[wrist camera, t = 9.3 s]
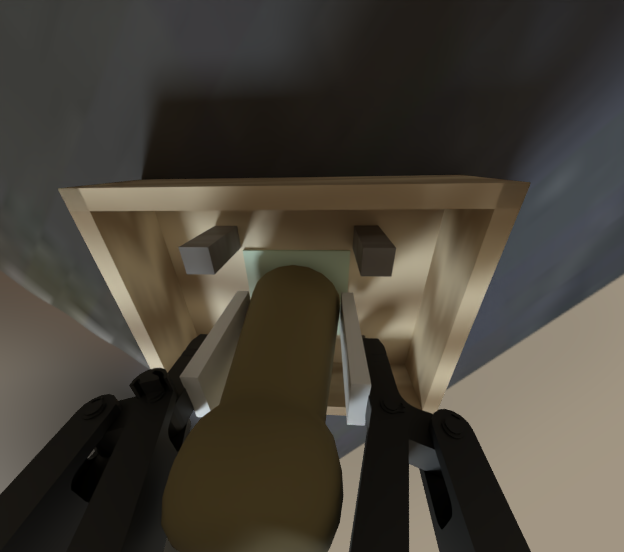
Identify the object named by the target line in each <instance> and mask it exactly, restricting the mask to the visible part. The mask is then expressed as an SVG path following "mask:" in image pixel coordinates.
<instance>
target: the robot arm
mask: <svg viewBox="0 0 624 552" xmlns="http://www.w3.org/2000/svg"><path fill="white" fill-rule="evenodd" d="M249 303H250V295H249V291H237V292H236V294H235V295H234V297H233V298H232V300H231V301H230V303H229V304H228V306H227V307H226V309H225V310H224V312H223V313H222V315H221V316H220V318H219V319H218V320H217V322H216V323H215V325H214V326H213V328H212V329H211V331H210V332H209V334H200V335H198V336H197V337H196V338H194V339H193V340H192V341H191V342H190V343H189V345H188V346H187V347H186V350H184V351H183V353H182V354H181V356H180V357H179V358H178V360H177V361H176V362H175V364H174V365H173V366H172V368H171V369H170V370H169V372H168V373H167V371H166V369H163V368H153V369H150V370H147V371H145V372H143V373H142V374H140V375H139V376H137V377H136V378H135V379H134V380H133V381H132V383H131V384H130V387H131V389H132V391H133V392H134V394H135V395H136V397H132V398H128V399H124V400H120V401H118V400H117V399H116V398H115V396H114V395H110V394H107V395H101V396H99V397H97V398H94V399H92V400H91V401H89V402H88V403H86V404H85V405H83V406H82V407H81V408H80V409H79V410H78V411H77V412H76V413H75V414H74V415H73V416H72V417H71V418H70V420H69V421H68V422H67V423H66V424H65V425H64V426H63V427H62V428H61V429H60V431H58V433H57V434H56V435H55V436H54V437H53V438H52V439H51V440H50V441H49V442H48V443H47V444H46V446H45V447H44V448H43V449H42V450H41V451H40V452H39V453H38V454H37V455H36V456H35V458H34V459H33V460H32V461H31V462H30V463H29V464H28V465H27V466H26V467H25V469H24V470H23V471H22V472H21V473H20V474H19V475H18V476H17V477H16V478H15V479H14V480H13V481H12V483H11V484H10V485H9V486H8V487H7V488H6V489H5V490H4V491H3V492H2V493H1V494H0V552H163V551H164V547H165V543H166V538H167V536H166V534H165V532H164V530H163V528H162V526H161V515H162V496H163V493H164V490H165V486H166V483H167V480H168V476H169V473H170V470H171V467H172V465H173V462H174V460H175V458H176V456H177V454H178V452H179V450H180V448H181V446H182V444H183V442H184V441H185V439H186V437H187V435H188V434H189V432H190V427H191V421H190V419H189V418H190V416H191V414H192V412H193V410H194V411H195V413H196V415H197V417H203V416H204V415H206V414H207V413H208V412H210V411H211V410H212V409H214V408H215V407H217V406H218V405H219V403H220V400H221V397H222V393H223V390H224V387H225V383H226V380H227V377H228V373H229V370H230V367H231V363H232V360H233V357H234V353H235V350H236V347H237V343H238V340H239V336H240V333H241V330H242V326H243V323H244V320H245V316H246V313H247V310H248V306H249ZM339 326H340V339H341V352H342V364H343V377H344V390H345V403H346V416H347V425H365V420H366V426H367V435H366V441H365V448H364V455H363V462H362V468H361V475H360V482H359V488H358V495H357V501H356V509H355V515H354V522H353V529H352V535H351V541H350V548H349V552H409V464H411V465H413V466H415V467H418V468H419V470H420V474H421V478H422V482H423V486H424V490H425V494H426V498H427V503H428V507H429V511H430V515H431V519H432V523H433V527H434V531H435V535H436V540H437V544H438V548H439V551H440V552H531V551H530V549H529V547H528V545H527V543H526V540H525V538H524V536H523V534H522V532H521V530H520V528H519V526H518V524H517V521H516V519H515V517H514V515H513V513H512V511H511V509H510V507H509V505H508V503H507V500H506V498H505V496H504V494H503V492H502V490H501V488H500V486H499V484H498V482H497V479H496V477H495V475H494V473H493V471H492V469H491V467H490V465H489V463H488V461H487V458H486V456H485V454H484V452H483V450H482V448H481V446H480V444H479V442H478V440H477V437H476V435H475V433H474V432H473V429H472V428H471V426H470V425H469V423H468V422H467V421H466V420H465V419H464V418H463V417H461V416H460V415H459V414H457V413H455V412H453V411H450V410H447V409H440V410H437V411H436V412H434V414H432V413H429V412H426V411H423V410H420V409H418V408H415V407H413V406H412V405H410V404H409V403H407V402H406V401H405V400H404V399H403V398H402V396H401V395H400V393H399V391H398V389H397V385H396V382H395V379H394V376H393V373H392V369H391V366H390V363H389V360H388V356H387V353H386V350H385V347H384V345H383V344H382V343H381V341H380V340H379V339H378V338H362V335H361V330H360V325H359V320H358V315H357V310H356V305H355V300H354V295H353V293H348V292H341V306H340V325H339ZM93 449H94V450H95V452H94V453H93V455H91V456H90V457H89V458H87V457H88V456H89V455H90V453H91V452H92V451H93Z"/></svg>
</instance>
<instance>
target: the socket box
mask: <svg viewBox="0 0 624 552" xmlns="http://www.w3.org/2000/svg"><path fill="white" fill-rule="evenodd" d="M529 186H530V182H521V181H512V180H503V179H494V178H485V177H476V176H467V175H421V176H354V177H287V178H219V179H152V180H133V181H124V182H114V183H105V184H95V185H86V186H77V187H67V188H58V190H59V192H60V194H61V196H62V198H63V200H64V202H65V204H66V206H67V207H68V209H69V211H70V213H71V215H72V217H73V219H74V221H75V223H76V225H77V227H78V229H79V231H80V233H81V235H82V237H83V238H84V240H85V242H86V244H87V246H88V248H89V250H90V252H91V254H92V256H93V258H94V260H95V262H96V264H97V266H98V268H99V269H100V271H101V273H102V275H103V277H104V279H105V281H106V283H107V285H108V287H109V289H110V291H111V293H112V295H113V297H114V298H115V300H116V302H117V304H118V306H119V308H120V310H121V312H122V314H123V316H124V318H125V320H126V322H127V324H128V326H129V328H130V329H131V331H132V333H133V335H134V337H135V339H136V341H137V343H138V345H139V347H140V349H141V351H142V353H143V355H144V357H145V359H146V360H147V362H148V364H149V366H150V368H151V369H153V368H163V369H166V371H167V373H168V372H169V370H170V369H171V368H172V366H173V365H174V364H175V362H176V361H177V360H178V358H179V357H180V356H181V354H182V353H183V351H184V350H186V347H187V346H188V345H189V343H190V342H191V341H192V340H193V339H194V338H196V337H197V336H198V335H200V334H209V332H210V331H211V329H212V328H213V326H214V325H215V323H216V322H217V320H218V319H219V318H220V316H221V315H222V313H223V312H224V310H225V309H226V307H227V306H228V304H229V303H230V301H231V300H232V298H233V297H234V295H235V294H236V292H237V291H249V295H250V300H251V296H252V293H253V291H254V288H255V286H256V284H257V282H258V281H259V280H260V279H261V278H262V277H263V276H264V275H265V274H266V273H267V272H269V271H271V270H273V269H275V268H277V267H282V266H289V265H297V266H304V267H309V268H311V269H313V270H316V271H318V272H320V273H322V274H323V275H324V276H325V277H326V278H328V279H329V280H330V281H331V282H332V283H333V285H334V286H335V288H336V290H337V292H338V294H339V299H340V306H341V292H348V293H353V295H354V300H355V305H356V310H357V315H358V320H359V325H360V330H361V335H362V338H378V339H379V340H380V341H381V343H382V344H383V345H384V347H385V350H386V353H387V356H388V360H389V363H390V366H391V369H392V373H393V376H394V379H395V382H396V385H397V389H398V391H399V393H400V395H401V396H402V398H403V399H404V400H405V401H406V402H407V403H409V404H410V405H412V406H413V407H415V408H418V409H420V410H423V411H426V412H429V413H432V414H434V412H436V411H437V410H438V408H439V405H440V403H441V401H442V398H443V396H444V393H445V391H446V388H447V386H448V384H449V381H450V379H451V376H452V374H453V371H454V369H455V366H456V364H457V362H458V359H459V357H460V354H461V352H462V349H463V347H464V344H465V342H466V340H467V337H468V335H469V332H470V330H471V327H472V325H473V322H474V320H475V318H476V315H477V313H478V310H479V308H480V305H481V303H482V301H483V298H484V296H485V293H486V291H487V288H488V286H489V283H490V281H491V279H492V276H493V274H494V271H495V269H496V266H497V264H498V261H499V259H500V257H501V254H502V252H503V249H504V247H505V244H506V242H507V240H508V237H509V235H510V232H511V230H512V227H513V225H514V222H515V220H516V218H517V215H518V213H519V210H520V208H521V205H522V203H523V200H524V198H525V196H526V193H527V191H528V188H529ZM339 325H340V314H339V321H338V329H337V337H336V344H335V352H334V360H333V367H332V375H331V383H330V390H329V398H328V406H327V414H326V415H346V403H345V390H344V377H343V364H342V352H341V339H340V326H339Z"/></svg>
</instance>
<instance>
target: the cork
mask: <svg viewBox="0 0 624 552" xmlns="http://www.w3.org/2000/svg"><path fill="white" fill-rule="evenodd" d="M339 314H340V299H339V294H338V292H337V290H336V288H335V286H334V285H333V283H332V282H331V281H330V280H329V279H328V278H326V277H325V276H324V275H323V274H322V273H320V272H318V271H316V270H313V269H311V268H309V267H304V266H297V265H289V266H282V267H277V268H275V269H273V270H271V271H269V272H267V273H266V274H265V275H264V276H263V277H262V278H261V279H260V280H259V281H258V282H257V284H256V286H255V288H254V291H253V293H252V296H251V300H250V303H249V306H248V310H247V313H246V316H245V320H244V323H243V326H242V330H241V333H240V336H239V340H238V343H237V347H236V350H235V353H234V357H233V360H232V363H231V367H230V370H229V373H228V377H227V380H226V383H225V387H224V390H223V393H222V397H221V400H220V403H219V405H218V406H217V407H215V408H214V409H212V410H211V411H210V412H208V413H207V414H206V415H204V416H203V417H202V418H201V419H200V420H199V421H198V423H197V424H196V425H195V426H194V428H193V429H192V430H191V432H190V433H189V434H188V435H187V437H186V439H185V441H184V442H183V444H182V446H181V448H180V450H179V452H178V454H177V456H176V458H175V460H174V462H173V465H172V467H171V470H170V473H169V476H168V480H167V483H166V486H165V490H164V493H163V496H162V515H161V526H162V528H163V530H164V532H165V534H166V536H167V538H168V540H169V541H170V543H171V545H172V547H173V548H175V549H176V550H178V551H179V552H328V550H329V548H330V546H331V544H332V541H333V538H334V536H335V533H336V531H337V528H338V526H339V523H340V517H341V509H342V502H343V482H342V470H341V465H340V462H339V457H338V453H337V449H336V445H335V440H334V437H333V435H332V434H331V432H330V430H329V429H328V427H327V426H326V424H325V421H326V414H327V406H328V398H329V390H330V383H331V375H332V367H333V360H334V352H335V344H336V337H337V329H338V321H339Z"/></svg>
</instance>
